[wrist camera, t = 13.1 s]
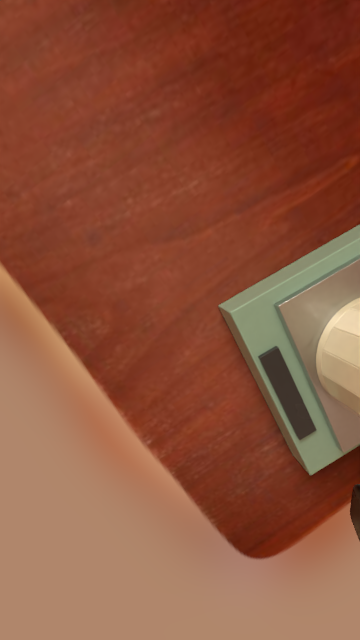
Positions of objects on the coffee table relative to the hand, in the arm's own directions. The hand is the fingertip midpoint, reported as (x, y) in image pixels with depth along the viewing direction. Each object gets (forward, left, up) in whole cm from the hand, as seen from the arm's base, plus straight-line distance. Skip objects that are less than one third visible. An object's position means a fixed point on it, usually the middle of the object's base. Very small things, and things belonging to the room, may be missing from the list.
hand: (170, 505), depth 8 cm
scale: (+11, -6, -12) cm, 17 cm away
